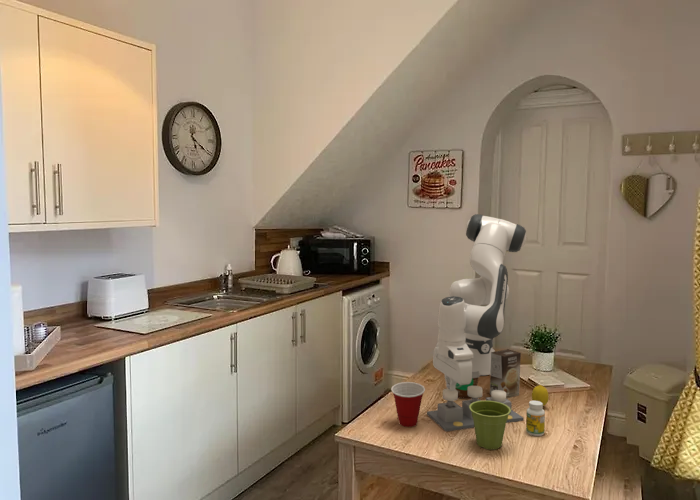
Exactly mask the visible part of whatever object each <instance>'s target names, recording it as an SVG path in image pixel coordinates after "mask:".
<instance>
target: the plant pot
mask: <svg viewBox="0 0 700 500" xmlns="http://www.w3.org/2000/svg"><path fill="white" fill-rule="evenodd" d="M469 408H470V410H471V412H472V417H473V421H474V428H473V429H474V434H475V441H476V444H477V446H478V447H480V448H483V449H485V450H499V448H501V447H502V446H503V440H504V435H505V430H506V425H507V423H506V421H507V419H508V415H509V414H510V412H511V410H512V408H511V409H510V407H508V406H507V405H505V404H503V403H500V402H496V401H486V400H481V401H476V402H473V403H471V404H470V406H469Z"/></svg>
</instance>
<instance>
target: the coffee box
mask: <svg viewBox="0 0 700 500" xmlns="http://www.w3.org/2000/svg"><path fill="white" fill-rule="evenodd" d="M521 356H522V352H519V351H516V350H513V349H510V348H509V349H508V348H507V349H502V350H497V351H496V350H495V352H491V371H490V375H489V376H490V379H489V395H490V396H491V392H492V391H493V390H502V391H505V392H506V399H510V398H512V397H513V398H514V397H516V396H519V395H520V379H521V378H520V377H521V376H520V375H521V359H522V357H521Z"/></svg>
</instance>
